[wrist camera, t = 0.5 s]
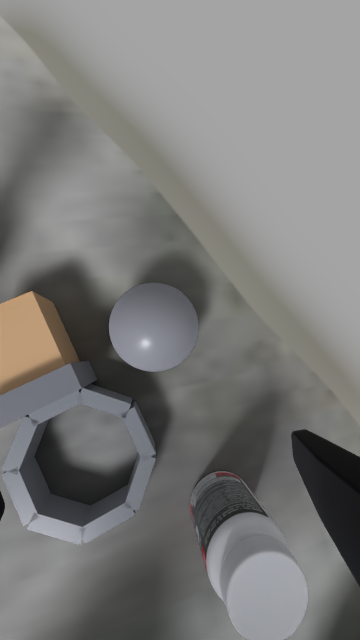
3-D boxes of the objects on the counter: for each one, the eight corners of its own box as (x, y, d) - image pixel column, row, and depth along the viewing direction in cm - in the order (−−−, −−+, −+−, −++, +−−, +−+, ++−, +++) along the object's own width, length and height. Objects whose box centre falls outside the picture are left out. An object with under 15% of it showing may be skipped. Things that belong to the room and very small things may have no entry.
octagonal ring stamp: (170, 476, 21) (178, 516, 16) (55, 541, 20) (22, 609, 14) (83, 289, 22) (64, 269, 17) (-34, 338, 20) (-94, 334, 15)
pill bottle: (176, 507, 21) (196, 610, 12) (217, 456, 22) (261, 520, 13) (223, 550, 21) (274, 680, 13) (262, 497, 22) (334, 586, 13)
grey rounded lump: (203, 348, 22) (213, 347, 19) (134, 382, 22) (132, 387, 18) (171, 281, 23) (175, 269, 19) (102, 312, 22) (93, 304, 18)
